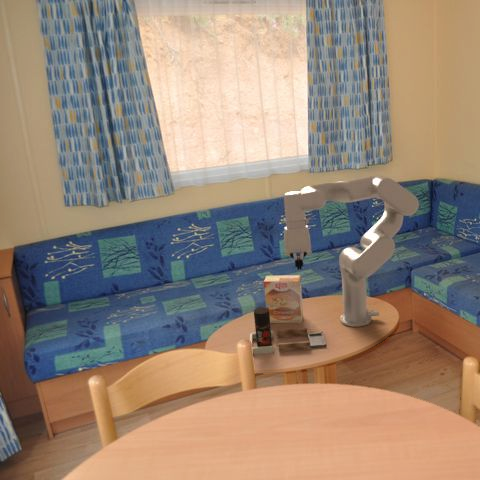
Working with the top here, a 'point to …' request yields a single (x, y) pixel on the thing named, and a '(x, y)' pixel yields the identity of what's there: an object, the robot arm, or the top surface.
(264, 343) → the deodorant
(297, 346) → the channel
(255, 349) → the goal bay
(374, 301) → the top surface
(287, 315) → the coffeecake box
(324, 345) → the tray
